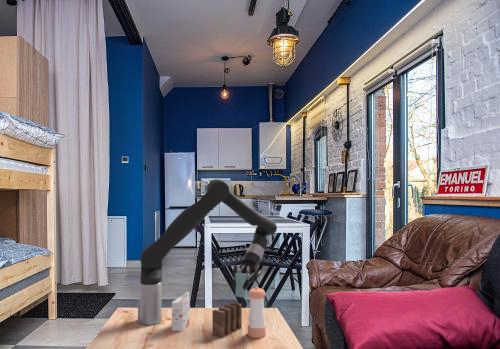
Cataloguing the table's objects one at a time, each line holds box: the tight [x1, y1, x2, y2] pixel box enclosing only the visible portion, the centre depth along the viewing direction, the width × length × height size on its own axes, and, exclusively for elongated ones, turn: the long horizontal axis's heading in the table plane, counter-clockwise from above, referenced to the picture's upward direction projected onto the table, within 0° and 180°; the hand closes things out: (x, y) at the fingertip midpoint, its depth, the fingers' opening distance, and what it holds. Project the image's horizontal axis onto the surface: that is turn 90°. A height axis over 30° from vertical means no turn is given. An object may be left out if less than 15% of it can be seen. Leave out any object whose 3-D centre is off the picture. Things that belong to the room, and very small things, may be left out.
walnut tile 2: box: [229, 301, 243, 330], centre depth 164 cm, size 2×5×10 cm, turn 57°
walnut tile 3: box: [223, 304, 237, 333], centre depth 160 cm, size 2×5×10 cm, turn 57°
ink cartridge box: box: [171, 290, 191, 332], centre depth 163 cm, size 9×5×15 cm, turn 168°
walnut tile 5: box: [211, 309, 226, 339], centre depth 154 cm, size 2×5×10 cm, turn 57°
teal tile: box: [235, 273, 248, 299], centre depth 167 cm, size 2×5×10 cm, turn 57°
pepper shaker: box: [247, 286, 267, 339], centre depth 155 cm, size 7×7×19 cm
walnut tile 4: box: [218, 306, 231, 336], centre depth 157 cm, size 2×5×10 cm, turn 57°
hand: (238, 287), depth 166 cm, fingers closed on teal tile, 5 cm apart
